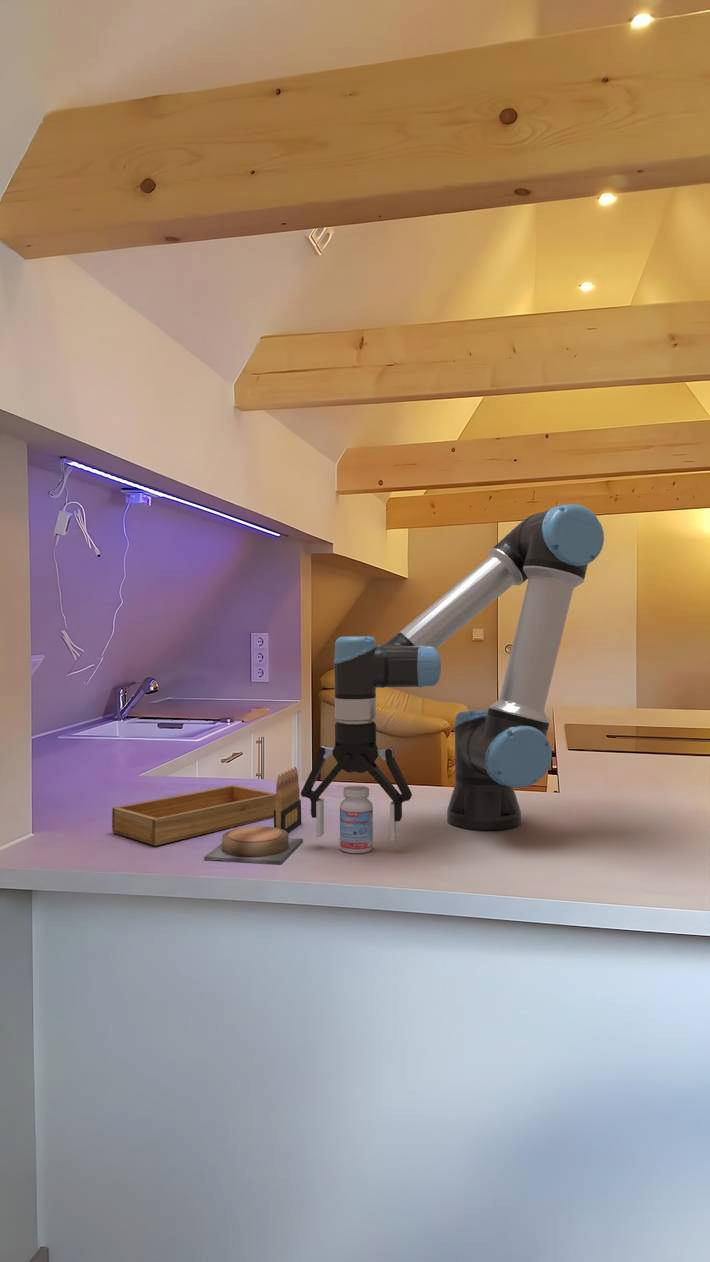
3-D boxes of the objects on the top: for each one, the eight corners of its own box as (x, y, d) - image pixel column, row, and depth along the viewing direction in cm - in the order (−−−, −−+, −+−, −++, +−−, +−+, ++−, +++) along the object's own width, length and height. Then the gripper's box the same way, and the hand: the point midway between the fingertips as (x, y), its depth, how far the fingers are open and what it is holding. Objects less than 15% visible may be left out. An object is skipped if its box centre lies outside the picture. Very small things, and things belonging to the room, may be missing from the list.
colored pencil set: (282, 837, 150) (281, 775, 150) (273, 836, 151) (273, 775, 151) (301, 823, 160) (301, 765, 160) (293, 823, 161) (292, 765, 161)
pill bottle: (337, 853, 139) (336, 791, 139) (343, 844, 145) (342, 784, 145) (370, 855, 138) (369, 792, 138) (375, 845, 144) (374, 785, 144)
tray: (233, 807, 177) (233, 782, 177) (278, 818, 167) (278, 792, 167) (111, 836, 154) (111, 807, 154) (155, 850, 144) (154, 819, 144)
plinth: (302, 841, 147) (302, 825, 147) (280, 864, 133) (280, 846, 133) (232, 838, 150) (232, 822, 150) (204, 860, 136) (204, 842, 136)
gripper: (426, 719, 143) (426, 834, 143) (295, 717, 148) (296, 828, 148) (421, 724, 135) (422, 846, 136) (283, 722, 140) (284, 839, 141)
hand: (356, 837), depth 142 cm, fingers open, 13 cm apart
